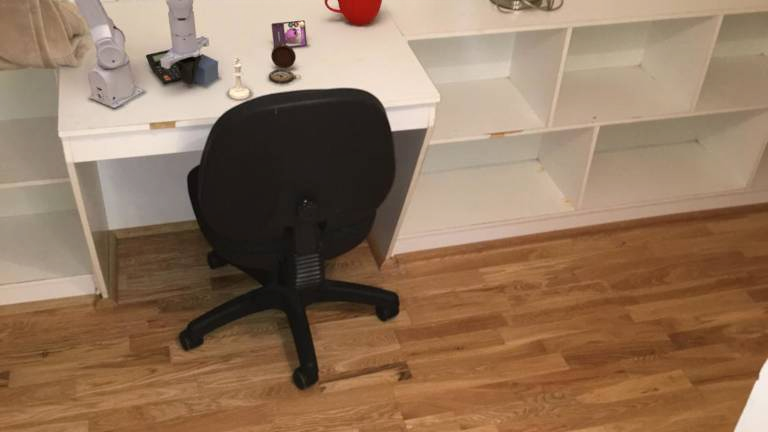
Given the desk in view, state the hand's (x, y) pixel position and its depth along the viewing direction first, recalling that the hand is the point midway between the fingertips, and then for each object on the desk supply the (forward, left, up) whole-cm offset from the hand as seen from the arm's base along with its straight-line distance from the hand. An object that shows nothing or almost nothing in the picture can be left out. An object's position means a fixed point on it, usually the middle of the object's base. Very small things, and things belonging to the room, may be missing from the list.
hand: (189, 82), depth 191 cm
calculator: (+4, +9, -2) cm, 10 cm away
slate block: (+5, 0, -1) cm, 5 cm away
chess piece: (+5, -11, -2) cm, 13 cm away
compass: (+18, -15, -2) cm, 24 cm away
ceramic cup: (+55, -12, -2) cm, 57 cm away
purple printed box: (+33, -5, -2) cm, 34 cm away
